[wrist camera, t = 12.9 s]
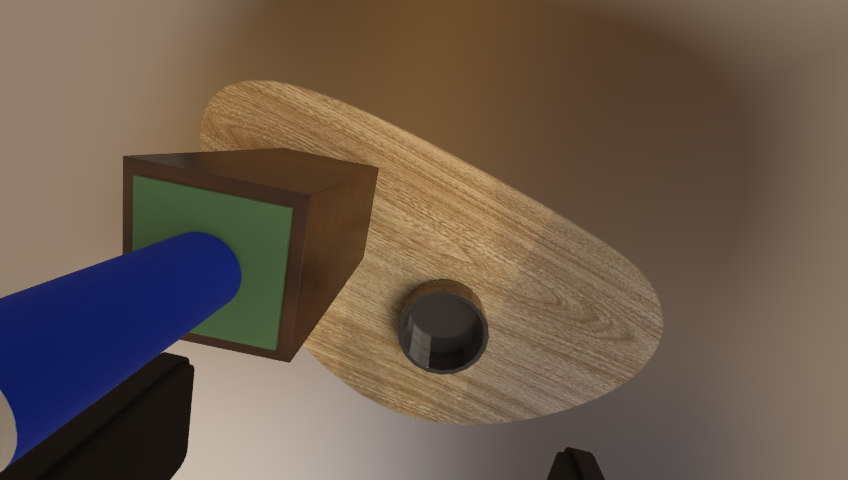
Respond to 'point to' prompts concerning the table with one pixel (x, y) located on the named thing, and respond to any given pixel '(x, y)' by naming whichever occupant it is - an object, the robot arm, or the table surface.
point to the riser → (310, 231)
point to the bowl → (443, 327)
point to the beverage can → (101, 330)
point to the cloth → (244, 234)
